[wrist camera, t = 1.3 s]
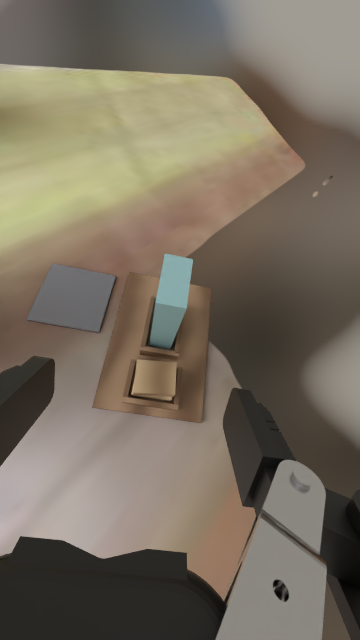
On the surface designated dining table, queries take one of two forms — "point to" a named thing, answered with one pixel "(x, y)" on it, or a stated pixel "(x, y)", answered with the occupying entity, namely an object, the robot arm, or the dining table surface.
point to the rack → (156, 353)
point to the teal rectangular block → (170, 300)
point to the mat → (73, 298)
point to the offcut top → (155, 378)
